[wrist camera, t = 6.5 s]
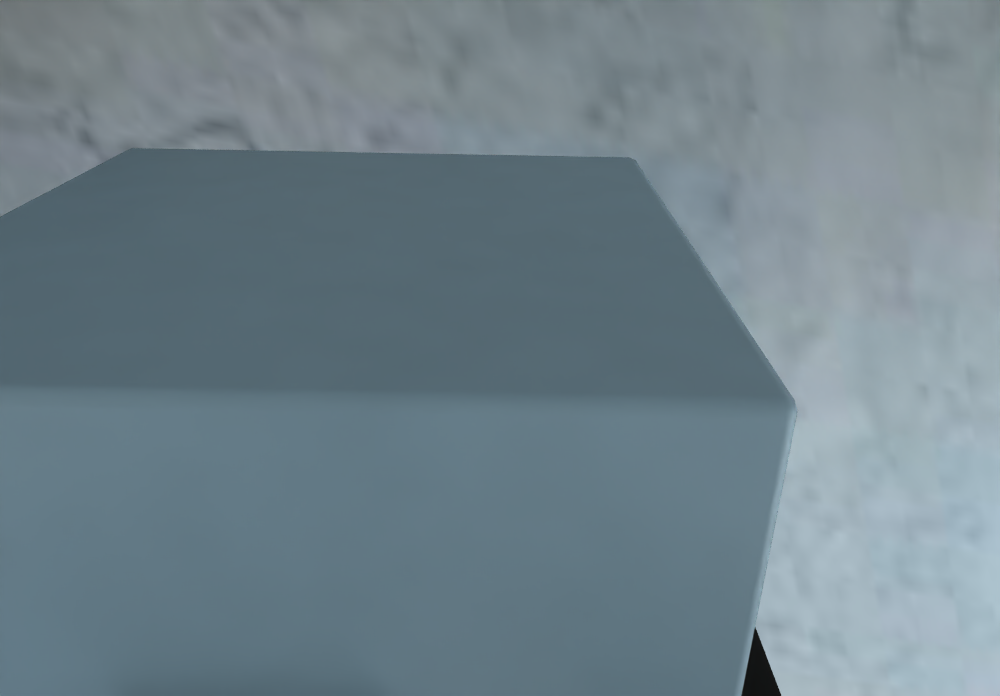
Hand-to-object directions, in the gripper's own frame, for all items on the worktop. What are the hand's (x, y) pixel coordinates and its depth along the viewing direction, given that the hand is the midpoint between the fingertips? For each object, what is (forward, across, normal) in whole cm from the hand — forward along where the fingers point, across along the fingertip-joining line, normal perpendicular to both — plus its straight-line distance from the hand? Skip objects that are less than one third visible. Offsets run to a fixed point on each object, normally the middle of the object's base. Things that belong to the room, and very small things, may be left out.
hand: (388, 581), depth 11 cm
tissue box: (+1, 0, 0) cm, 1 cm away
